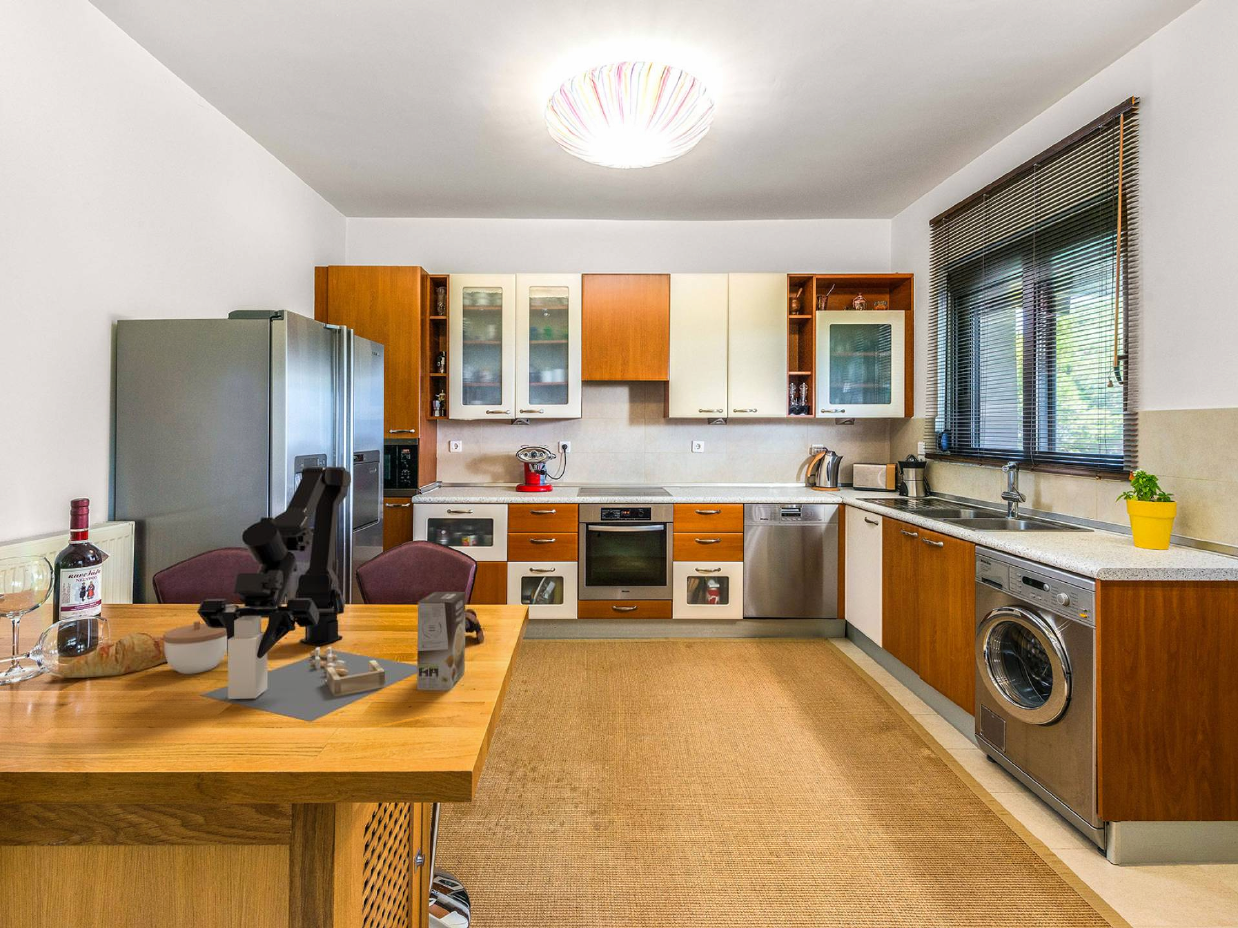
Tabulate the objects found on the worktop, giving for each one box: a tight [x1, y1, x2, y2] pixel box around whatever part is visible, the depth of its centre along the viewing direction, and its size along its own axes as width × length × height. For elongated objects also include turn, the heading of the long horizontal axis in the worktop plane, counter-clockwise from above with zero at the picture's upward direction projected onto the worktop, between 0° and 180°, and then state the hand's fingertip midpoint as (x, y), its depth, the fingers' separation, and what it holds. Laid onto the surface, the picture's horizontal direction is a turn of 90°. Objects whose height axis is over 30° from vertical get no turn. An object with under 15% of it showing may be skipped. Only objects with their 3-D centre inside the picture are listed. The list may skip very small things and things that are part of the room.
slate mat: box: [199, 649, 417, 723], centre depth 119 cm, size 26×28×1 cm
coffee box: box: [416, 591, 466, 691], centre depth 120 cm, size 9×6×16 cm
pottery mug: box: [465, 608, 485, 644], centre depth 147 cm, size 12×9×8 cm
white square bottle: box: [227, 616, 268, 699], centre depth 111 cm, size 4×4×13 cm
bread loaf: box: [57, 632, 168, 679], centre depth 127 cm, size 21×10×8 cm, turn 139°
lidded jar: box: [162, 620, 227, 675], centre depth 125 cm, size 11×11×9 cm
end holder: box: [326, 660, 386, 696], centre depth 118 cm, size 8×8×3 cm
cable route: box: [309, 646, 348, 676], centre depth 127 cm, size 16×5×2 cm, turn 34°
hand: (244, 657), depth 110 cm, fingers closed on white square bottle, 4 cm apart
